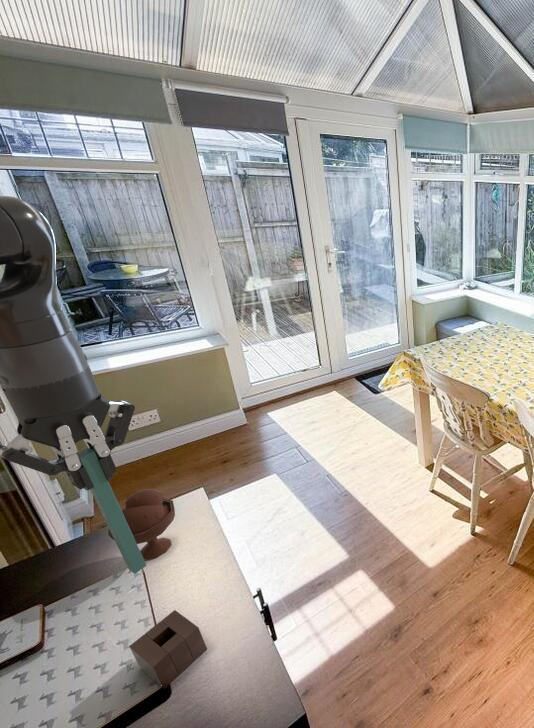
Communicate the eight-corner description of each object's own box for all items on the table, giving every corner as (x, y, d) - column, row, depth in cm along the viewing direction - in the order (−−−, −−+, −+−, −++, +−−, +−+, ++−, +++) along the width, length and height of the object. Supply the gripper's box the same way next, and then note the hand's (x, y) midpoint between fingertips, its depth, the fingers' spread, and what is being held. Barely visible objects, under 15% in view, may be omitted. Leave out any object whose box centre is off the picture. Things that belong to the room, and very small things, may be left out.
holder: (164, 689, 67) (152, 666, 64) (140, 668, 69) (128, 646, 67) (207, 649, 72) (198, 627, 70) (184, 631, 75) (174, 609, 72)
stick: (134, 573, 63) (79, 457, 54) (128, 569, 63) (73, 454, 55) (146, 565, 64) (94, 451, 55) (140, 561, 65) (88, 447, 56)
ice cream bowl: (133, 538, 93) (109, 486, 87) (192, 523, 97) (174, 473, 91) (113, 578, 84) (86, 523, 78) (180, 560, 88) (158, 507, 82)
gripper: (98, 345, 57) (139, 447, 64) (-56, 388, 46) (14, 506, 53) (129, 356, 54) (168, 461, 61) (-27, 404, 43) (43, 527, 50)
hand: (97, 482), depth 57 cm, fingers closed on stick, 1 cm apart
